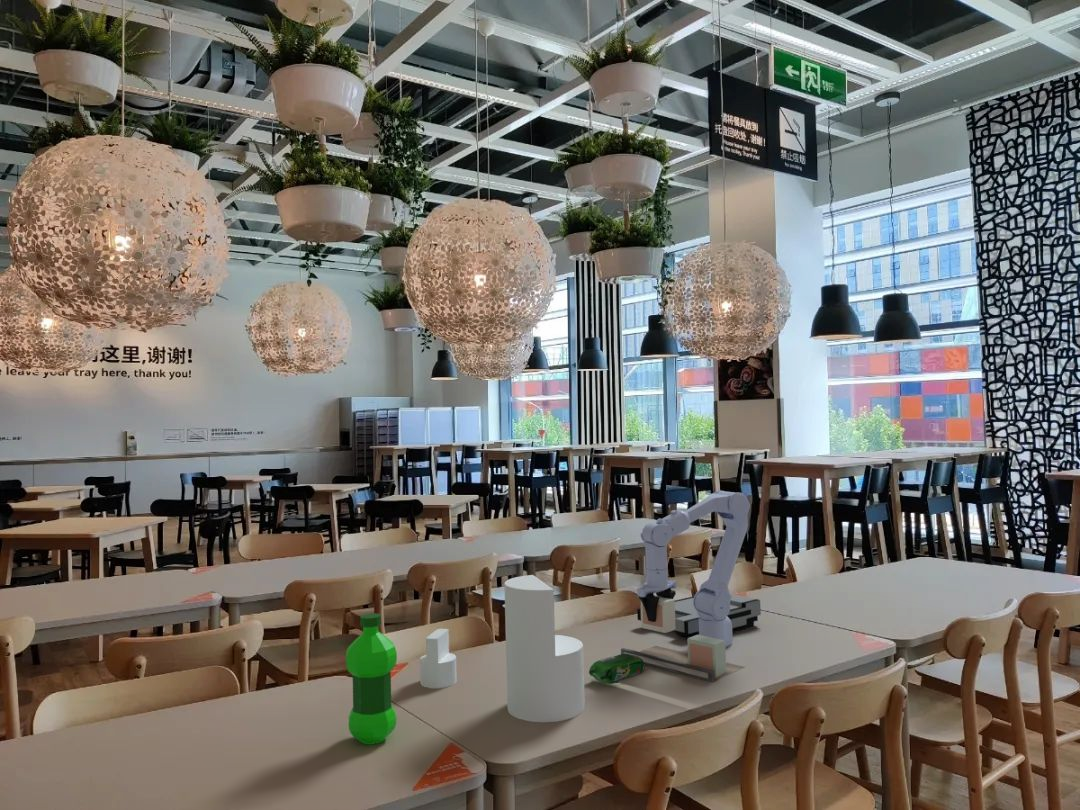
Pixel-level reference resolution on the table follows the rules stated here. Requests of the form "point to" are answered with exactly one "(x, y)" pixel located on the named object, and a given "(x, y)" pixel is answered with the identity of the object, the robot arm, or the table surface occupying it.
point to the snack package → (616, 668)
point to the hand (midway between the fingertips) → (658, 619)
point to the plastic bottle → (371, 682)
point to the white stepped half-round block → (438, 661)
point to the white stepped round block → (540, 656)
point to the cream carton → (661, 616)
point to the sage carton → (707, 653)
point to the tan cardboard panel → (677, 663)
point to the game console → (740, 615)
